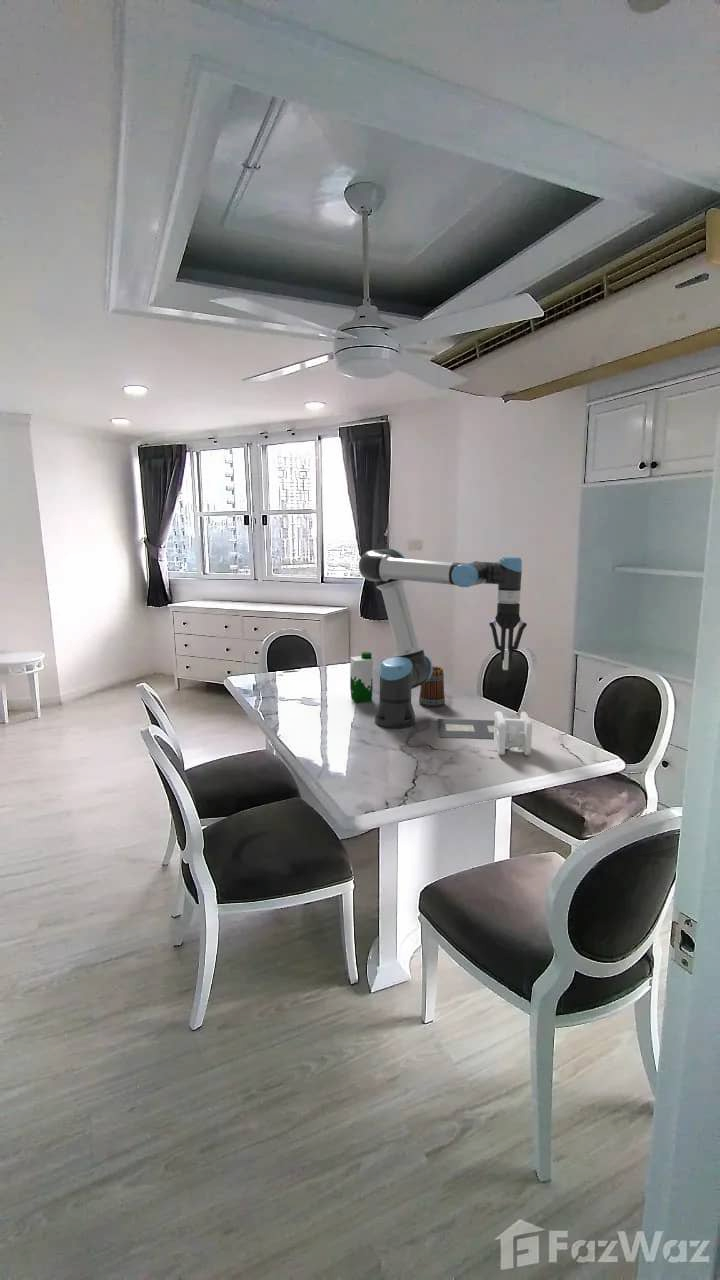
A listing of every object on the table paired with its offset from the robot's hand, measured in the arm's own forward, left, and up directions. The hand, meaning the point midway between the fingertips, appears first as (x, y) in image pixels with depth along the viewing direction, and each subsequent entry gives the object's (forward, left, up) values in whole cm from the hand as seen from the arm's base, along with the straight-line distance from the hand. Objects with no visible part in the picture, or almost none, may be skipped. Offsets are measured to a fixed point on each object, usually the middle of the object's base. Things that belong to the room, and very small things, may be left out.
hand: (505, 669), depth 212 cm
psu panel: (-8, 0, -22) cm, 24 cm away
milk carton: (-54, +32, -23) cm, 66 cm away
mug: (-24, +32, -23) cm, 46 cm away
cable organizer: (0, -20, -23) cm, 30 cm away
